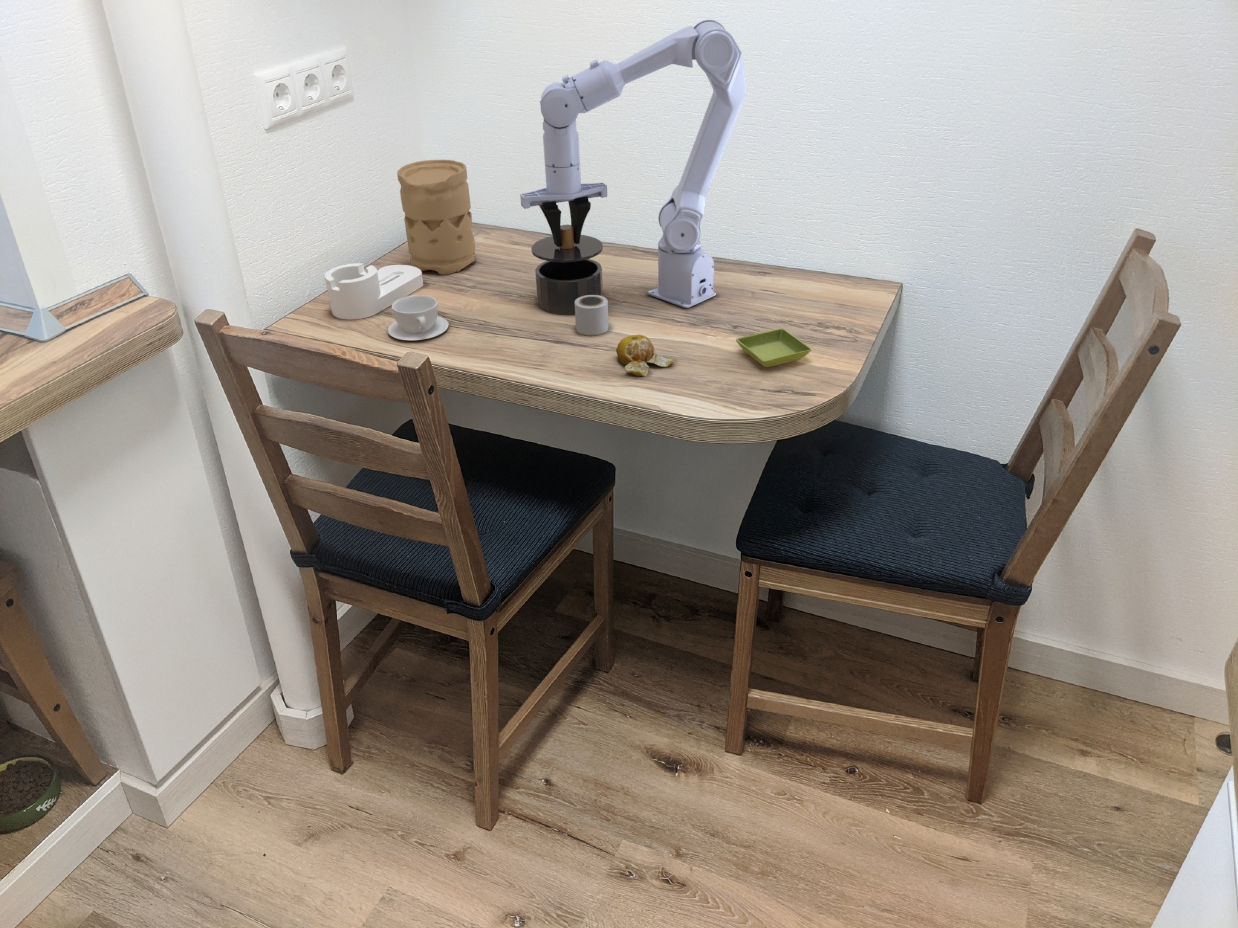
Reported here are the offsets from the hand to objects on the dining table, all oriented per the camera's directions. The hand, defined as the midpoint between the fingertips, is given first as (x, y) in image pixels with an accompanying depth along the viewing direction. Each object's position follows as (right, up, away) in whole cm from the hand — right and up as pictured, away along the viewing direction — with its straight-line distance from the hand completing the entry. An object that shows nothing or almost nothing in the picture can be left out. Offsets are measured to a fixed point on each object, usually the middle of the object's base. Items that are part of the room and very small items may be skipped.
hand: (567, 243), depth 163 cm
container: (-25, +1, +22) cm, 33 cm away
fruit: (+12, -22, -16) cm, 30 cm away
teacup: (-25, -15, -3) cm, 29 cm away
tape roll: (+4, -15, -5) cm, 16 cm away
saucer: (+33, -21, -15) cm, 41 cm away
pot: (0, -9, +5) cm, 10 cm away
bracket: (-34, -8, +9) cm, 36 cm away
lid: (0, -1, +1) cm, 1 cm away
